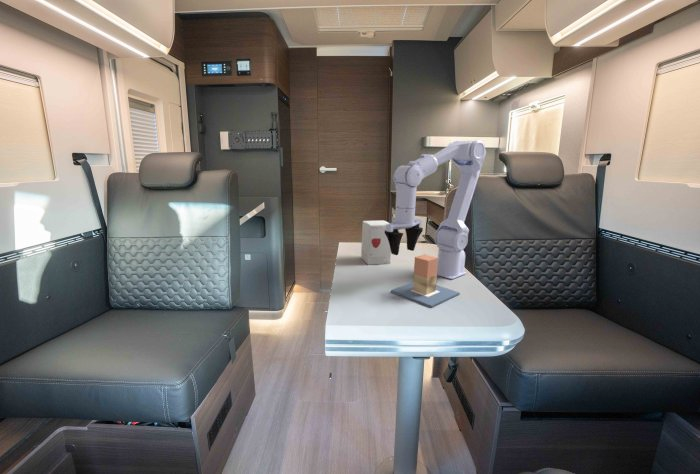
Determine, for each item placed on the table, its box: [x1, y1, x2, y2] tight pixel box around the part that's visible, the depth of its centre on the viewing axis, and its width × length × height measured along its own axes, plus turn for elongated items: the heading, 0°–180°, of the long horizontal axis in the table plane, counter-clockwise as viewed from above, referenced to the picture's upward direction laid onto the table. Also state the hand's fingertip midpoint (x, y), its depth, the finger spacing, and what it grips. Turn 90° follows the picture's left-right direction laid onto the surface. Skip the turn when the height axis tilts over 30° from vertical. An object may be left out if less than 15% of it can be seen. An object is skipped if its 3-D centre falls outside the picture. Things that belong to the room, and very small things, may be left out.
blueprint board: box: [390, 281, 461, 309], centre depth 98 cm, size 14×14×1 cm
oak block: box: [413, 273, 438, 295], centre depth 97 cm, size 5×5×5 cm
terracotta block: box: [413, 254, 438, 278], centre depth 96 cm, size 5×5×5 cm
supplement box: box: [360, 219, 392, 266], centre depth 126 cm, size 9×9×15 cm
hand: (402, 252), depth 102 cm, fingers open, 7 cm apart
